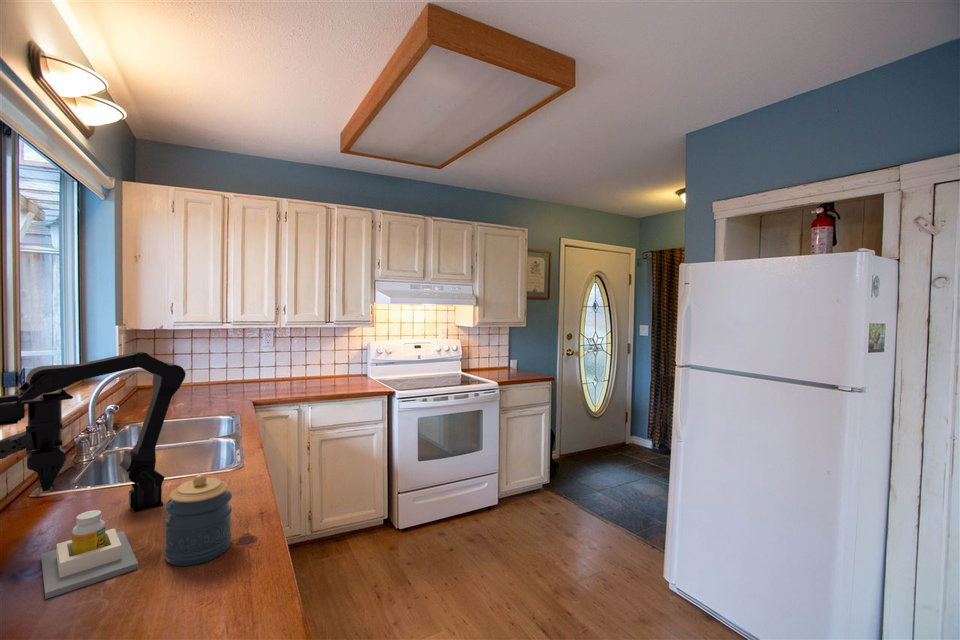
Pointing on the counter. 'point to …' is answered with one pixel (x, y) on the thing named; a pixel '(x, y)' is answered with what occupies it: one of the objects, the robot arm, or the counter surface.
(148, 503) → the robot arm
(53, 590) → the socket board
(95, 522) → the supplement bottle
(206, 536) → the canister
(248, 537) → the counter surface
